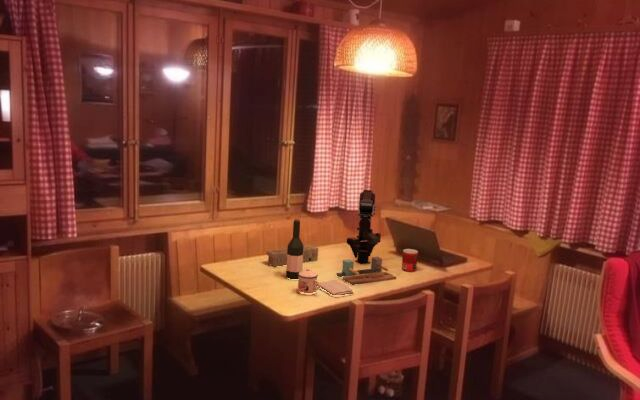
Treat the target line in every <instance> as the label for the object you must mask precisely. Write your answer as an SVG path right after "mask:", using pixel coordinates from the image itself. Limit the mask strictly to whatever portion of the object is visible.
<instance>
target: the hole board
mask: <svg viewBox="0 0 640 400" xmlns="http://www.w3.org/2000/svg"><path fill="white" fill-rule="evenodd" d="M344 280H345V281H344ZM392 280H397V276H395V275H393V274H391V273H390V272H388V271H382V272H375V273H368V274H360V275H353V276H344V277H342V281H344V282H346V283H347V282H348V284H349V283H350V285H351V284H352V285H351V286H356V285H355V284H358V285H363V284H364V283H365V284H371V283H378V282H379V283H380V282H387V281H392Z"/></svg>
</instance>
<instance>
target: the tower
mask: <svg viewBox="0 0 640 400" xmlns="http://www.w3.org/2000/svg"><path fill="white" fill-rule="evenodd" d="M287 248H288V247H284V248H282V247H281V248H277V249H276V248H275V249H271V250H270V249H267V250H266V251H265V252H266V254H265V255H267V256H268V259H267V260H268V262H267V264H268V263H269V264H268V265H270V264H271V265H273V266H272V267H274V268H278V267H277V266H281V267H284V266H283V265H287ZM318 255H319V247H317V246H314V245H309V244H306V245H304V246H303V264H304V263H305V262H306V263H309V262H312V263H313V262H317V261H318V259H319V256H318ZM271 265H270V266H271Z"/></svg>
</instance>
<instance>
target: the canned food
mask: <svg viewBox="0 0 640 400" xmlns="http://www.w3.org/2000/svg"><path fill="white" fill-rule="evenodd" d="M418 256H419V251H418V250H417V249H412V248H405V249H403V250H402V260H401V270H402V271H403V272H406V273H415V272H416V271H417V267H418Z"/></svg>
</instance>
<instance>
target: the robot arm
mask: <svg viewBox="0 0 640 400" xmlns="http://www.w3.org/2000/svg"><path fill="white" fill-rule="evenodd" d="M375 204H376V194H375V193H373V190H372V189H363V190H362V192H360V193H359V201H358V210H357V216H359V220H358V221H359V222H358V227H357V228H356V230H357V231H358V235H356V237H354V236H353V237H348V238H347V239H346V244H347V245H348V246H349V247H350V250H351V251H352V254H353V256H354V258H355V259H356V260H354V263H357V264H359V265H368V264H371V262H370V261H369V257H371V255H372V253H373V250H374V248H375V246H377V245H378V244H379V243H380V244H381V238H382V236H381V235H382V234H381V233H379V232H377V233H374V232H373V228H371V227H372V225H371V224H372V217H373V218H374V215H376V206H375Z"/></svg>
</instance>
